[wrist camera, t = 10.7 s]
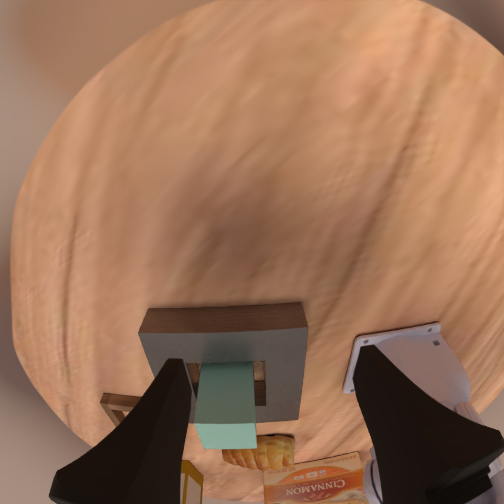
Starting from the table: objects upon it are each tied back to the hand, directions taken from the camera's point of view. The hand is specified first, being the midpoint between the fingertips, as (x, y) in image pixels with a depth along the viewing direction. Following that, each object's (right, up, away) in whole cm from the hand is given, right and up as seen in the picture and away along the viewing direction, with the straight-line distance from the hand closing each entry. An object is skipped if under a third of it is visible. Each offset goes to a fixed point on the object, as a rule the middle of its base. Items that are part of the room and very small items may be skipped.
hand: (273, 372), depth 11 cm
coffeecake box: (+8, -29, +26) cm, 40 cm away
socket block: (-3, -5, +14) cm, 15 cm away
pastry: (+1, -20, +22) cm, 29 cm away
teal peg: (-3, -5, +14) cm, 15 cm away
